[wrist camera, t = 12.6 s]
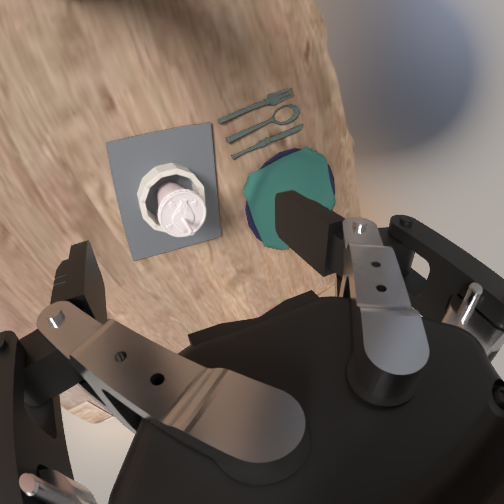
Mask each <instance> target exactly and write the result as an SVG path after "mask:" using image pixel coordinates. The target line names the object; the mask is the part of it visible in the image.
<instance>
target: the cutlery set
mask: <svg viewBox="0 0 504 504" xmlns="http://www.w3.org/2000/svg"><path fill="white" fill-rule="evenodd" d="M290 90H292V88H291V89H287V90H283V91H280V92H276V93H272V94H269V95H268V96H267V99H265V100H264V101H261V102H259V103H256V104H253V105H251V106H248V107H246V108H243V109H241V110H238V111H236V112H234V113H232V114H229V115H227V116H225V117H223V118H221V119H218V122H219V123H222V122H224V121H227V120H229V119H231V118H234V117H236V116H238V115H240V114H242V113H245V112H247V111H250V110H252V109H255V108H257V107H260V106H263V105H268V104H270V105H271V106H273V105H275V104H277V103H279V102H281V101H283V100H285V99H288V98H290V97H292V96H294V95H290V96H286V95H289V94H291V93H293V92H289V93H285V92H287V91H290ZM283 93H285V94H283ZM280 94H281V95H280ZM284 96H286V97H284ZM282 97H283V98H282ZM282 107H290V108H292V109H293V112H294V113H293V115H292V117H291V118H290V119H288V120H287V121H285V122H279V121H276V120H275V118H274V115H275V113H276V111H277V110H279V109H280V108H282ZM282 107H280V108H279V109H277V110H276V111H275V113H274V115H273V116H272V118H271V119H269V120H267V121H265V122H262V123H260V124H257V125H255V126H253V127H251V128H248V129H246V130H243V131H241V132H239V133H236V134H234V135H231V136H229V137H228V138H226V141H227V143H229V142H231V141H233V140H235V139H237V138H239V137H241V136H243V135H245V134H247V133H249V132H251V131H253V130H255V129H257V128H259V127H261V126H263V125H265V124H267V123H269V122H274V123H277V124H280V125H282V124H287V123H290V122H291V121H293V120H294V119H296V117H297V116H298V114H299V113H300V110H299V107H298V106H295V105H292V104H291V105H285V106H282ZM302 127H303V124H301V125H299V126H296V127H294V128H291V129H289V130H287V131H284V132H282V133H280V134H278V135H275V136H273V137H271V138H266V139H265V140H261V141H259V142H258V143H257V144H256V145H254V146H252V147H250V148H248V149H246V150H244V151H242V152H240V153H237V154H235V155H231V156H232V159H234V158H236V157H238V156H240V155H241V154H243V153H245V152H248V151H251V150H253V149H255V148H257V147H263V146H265V145H266V144H268V143H269V144H270V141H274V140H278V139H281V138H283V137H286V136H288V135H290V134H292V133H295V132H297V131H299V130H300V129H301V128H302ZM289 190H294V191H296V192H298V193H300V194H301V195H303V196H305V197H307V198H308V199H311V200H314V201H316V202H318V203H320V204H322V205H323V206H325V207H327V208H328V209H329V210H333V207H334V205H335V198H334V194H335V186H334V177H333V174H332V172H331V169H330V166H329V165H328V164H327V160H326V158H325V156H323V155H321V154H319V153H317V152H316V151H313V150H312V149H310V148H308V147H305V148H304V149H297V148H294V149H290V150H287V151H283V152H280V153H278V154H277V155H275V156H274V157H272V158H271V159H269V160H268V161H266V162H265V163H264V165H263V166H262V167H261V168H260V170H258V171H256V172H253V173H252V174H250V175H249V176H248V179H247V182H246V184H245V186H244V190H243V191H244V195H245V197H246V215H247V220H248V224H249V227H250V228H251V230H252V231H253V233H254V234H255V236H256V238H257V239H259V240H260V241H262V242H263V244H264V247H266V246H267V247H271V248H275V249H279V250H284V249H286V248H288V247H289V246H288V245H287V244H285V243H284V242H283V241H282V240H281V239H280V238H279V237H278V235H277V233H276V229H275V195H276V194H277V193H279V192H284V191H289Z"/></svg>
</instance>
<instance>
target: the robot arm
mask: <svg viewBox="0 0 504 504" xmlns="http://www.w3.org/2000/svg"><path fill="white" fill-rule="evenodd" d="M275 229H276V233H277V235H278V237H279V238H280V239H281V240H282V241H283V242H284V243H285V244H287V245H288V246H289V247H290V248H291V249H292V250H293V251H295V252H296V253H297V254H298V255H299V256H300V257H301V258H303V259H304V260H305V261H306V262H307V263H308V264H309V265H310V266H312V267H313V268H314V269H315V270H316V271H317V272H318V273H319V274H321V275H322V276H323V277H325V276H327V275H330V274H332V273H336V276H335V297H320V298H319V297H318V296H317V295H316V294H315V293H314V292H313V291H312V290H311V291H308V292H305V293H303V294H300V295H298V296H295V297H293V298H290V299H287V300H285V301H283V302H282V303H280V304H279V305H277V306H276V307H274V308H273V309H271V310H270V311H268V312H266V313H265V314H263V315H262V316H260V317H258V318H254V319H248V320H241V321H235V322H228V323H221V324H218V325H215V326H212V327H209V328H206V329H203V330H200V331H197V332H194V333H191V334H188V337H189V341H190V344H191V345H190V346H188V347H187V348H185V349H184V350H182V351H181V352H180V353H178V354H176V353H174V352H172V351H170V350H168V349H166V348H164V347H162V346H160V345H158V344H157V343H155V342H153V341H151V340H149V339H147V338H145V337H143V336H142V335H140V334H138V333H136V332H134V331H133V330H131V329H129V328H127V327H126V326H124V325H122V324H120V323H119V322H117V321H115V320H113V319H108V320H107V312H106V299H105V287H104V282H103V278H102V275H101V272H100V270H99V267H98V264H97V261H96V258H95V256H94V253H93V250H92V247H91V244H90V242H89V241H88V240H87V241H84V242H81V243H78V244H74V245H71V249H70V255H69V259H67V260H64V261H62V263H61V264H60V265H59V267H58V268H57V270H56V275H55V280H54V286H53V291H52V297H51V303H50V305H49V306H47V307H46V308H45V309H44V310H43V311H42V312H41V313H40V315H39V316H38V319H37V328H38V329H36V330H35V331H33V332H32V333H30V334H28V335H27V336H25V337H23V338H21V339H20V340H19V339H18V337H17V336H16V334H15V333H14V332H12V331H3V332H1V333H0V504H97V502H96V500H95V498H94V496H93V495H92V493H91V492H90V491H89V490H88V489H87V488H86V487H85V486H83V485H81V484H79V483H78V482H76V481H74V478H73V474H72V469H71V465H70V460H69V456H68V451H67V446H66V440H65V434H64V429H63V422H62V414H61V406H60V397H59V394H61V393H62V392H64V391H66V390H68V389H69V388H71V387H73V386H74V385H76V384H77V385H78V386H79V387H81V388H82V389H83V390H84V391H85V392H86V393H87V394H88V395H90V396H91V397H92V398H93V399H94V400H95V401H97V402H98V403H99V404H100V405H101V406H103V407H104V408H105V409H106V410H107V411H109V412H110V413H111V414H112V415H113V416H115V417H116V418H117V419H118V420H119V421H120V422H121V423H122V424H123V425H124V426H126V427H127V428H128V429H129V430H131V431H132V432H133V433H135V436H134V439H133V441H132V443H131V446H130V448H129V451H128V453H127V455H126V458H125V460H124V462H123V465H122V467H121V469H120V472H119V474H118V477H117V479H116V482H115V484H114V486H113V489H112V491H111V494H110V498H109V503H108V504H504V381H503V380H502V379H501V378H500V376H499V375H498V374H497V372H496V371H495V369H494V367H493V366H492V364H491V361H492V360H493V358H494V357H495V356H496V354H497V352H498V351H499V350H500V348H501V347H502V345H503V344H504V279H503V278H502V277H500V276H499V275H498V274H496V273H495V272H494V271H492V270H491V269H490V268H488V267H487V266H486V265H484V264H483V263H482V262H480V261H479V260H477V259H476V258H474V257H473V256H472V255H470V254H469V253H467V252H466V251H464V250H463V249H461V248H460V247H459V246H457V245H455V244H454V243H452V242H451V241H449V240H448V239H446V238H445V237H443V236H442V235H440V234H439V233H437V232H436V231H434V230H432V229H430V228H429V227H427V226H426V225H424V224H423V223H421V222H419V221H418V220H416V219H414V218H412V217H409V216H406V215H395V216H392V217H391V219H390V224H389V227H386V228H377V225H376V224H375V223H374V222H372V221H370V220H367V219H365V218H360V217H351V218H347V219H345V218H343V217H342V216H340V215H338V214H337V213H335V212H333V211H332V210H329V209H328V208H327V207H325V206H323V205H322V204H320V203H318V202H316V201H314V200H311V199H308V198H307V197H305V196H303V195H301V194H300V193H298V192H296V191H294V190H289V191H284V192H279V193H277V194H276V195H275ZM415 252H416V253H417V254H419V255H420V256H421V257H423V258H424V259H425V260H427V262H428V263H429V266H430V273H429V276H428V278H427V280H426V279H425V278H423V277H422V276H421V275H420V274H418V273H417V272H416V271H415V270H413V269H412V268H411V265H412V261H413V258H414V254H415ZM412 307H413V308H414V309H413V308H412ZM420 314H421V315H422V316H423V317H424V318H423V317H421V316H420Z"/></svg>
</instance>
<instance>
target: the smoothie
mask: <svg viewBox="0 0 504 504" xmlns="http://www.w3.org/2000/svg"><path fill="white" fill-rule="evenodd" d="M157 198H158V206H159V208H158V221H159V223H160V225H161V227H162V228H163V230H164V231H165V232H166V233H168V234H169V235H171V236H174V237H186V236H190V235H194V234H195V232H196V231H198V230H199V229H200V228H201V226H202V225H203V223H204V221H205V218H206V206H205V203H204V201H203V199H202V198H201V197H200V195H199V194H197V193H196V192H194V191H192V190H189V189H184V188H183V187H181V186H179V185H178V184H176V183H174V182H165V183H163V184H162V185H160V187H159V188H158V191H157Z"/></svg>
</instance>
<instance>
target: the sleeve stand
mask: <svg viewBox="0 0 504 504" xmlns="http://www.w3.org/2000/svg"><path fill="white" fill-rule="evenodd" d="M106 146H107V152H108V157H109V163H110V168H111V173H112V178H113V183H114V187H115V192H116V196H117V201H118V205H119V209H120V213H121V217H122V221H123V225H124V229H125V233H126V237H127V240H128V244H129V248H130V251H131V255H132V258H133V261H136V260H139V259H143V258H146V257H150V256H153V255H157V254H160V253H164V252H167V251H171V250H174V249H178V248H182V247H185V246H189V245H193V244H196V243H200V242H203V241H207V240H211V239H215V238H218V237H221V227H220V217H219V207H218V197H217V187H216V176H215V165H214V154H213V142H212V130H211V123H210V122H208V123H201V124H195V125H189V126H182V127H177V128H171V129H166V130H160V131H155V132H150V133H146V134H141V135H137V136H132V137H128V138H124V139H119V140H115V141H111V142H108V143H106ZM165 182H174V183H176V184H178V185H179V186H181V187H183V188H184V189H189V190H192V191H194V192H196V193H197V194H199V195H200V197H201V198H202V199H203V201H204V203H205V206H206V218H205V221H204V223H203V225H202V226H201V228H200V229H199V230H198V231H196V232H195V234H194V235H190V236H186V237H174V236H171V235H169V234H168V233H166V232H165V231H164V230H163V228H162V227H161V225H160V223H159V221H158V208H159V206H158V198H157V191H158V188H159V187H160V185H162V184H163V183H165Z"/></svg>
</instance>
